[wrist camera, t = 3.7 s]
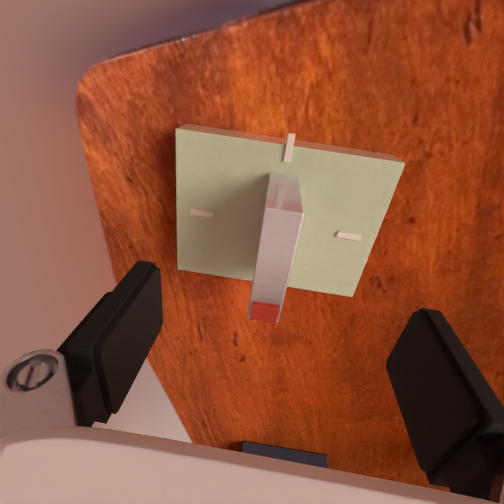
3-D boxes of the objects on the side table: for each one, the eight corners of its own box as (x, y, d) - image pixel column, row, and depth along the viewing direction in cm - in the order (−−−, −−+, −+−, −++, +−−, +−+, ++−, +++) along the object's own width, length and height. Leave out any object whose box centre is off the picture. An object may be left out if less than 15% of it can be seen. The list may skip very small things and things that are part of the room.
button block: (236, 471, 38) (231, 509, 35) (242, 440, 34) (238, 480, 31) (311, 483, 38) (313, 523, 35) (326, 454, 34) (331, 496, 31)
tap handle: (269, 172, 16) (263, 209, 11) (299, 176, 16) (305, 216, 11) (255, 263, 19) (246, 321, 14) (279, 267, 19) (278, 326, 14)
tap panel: (185, 261, 22) (176, 277, 20) (186, 111, 16) (173, 115, 15) (344, 286, 21) (350, 305, 20) (397, 143, 16) (412, 151, 14)
